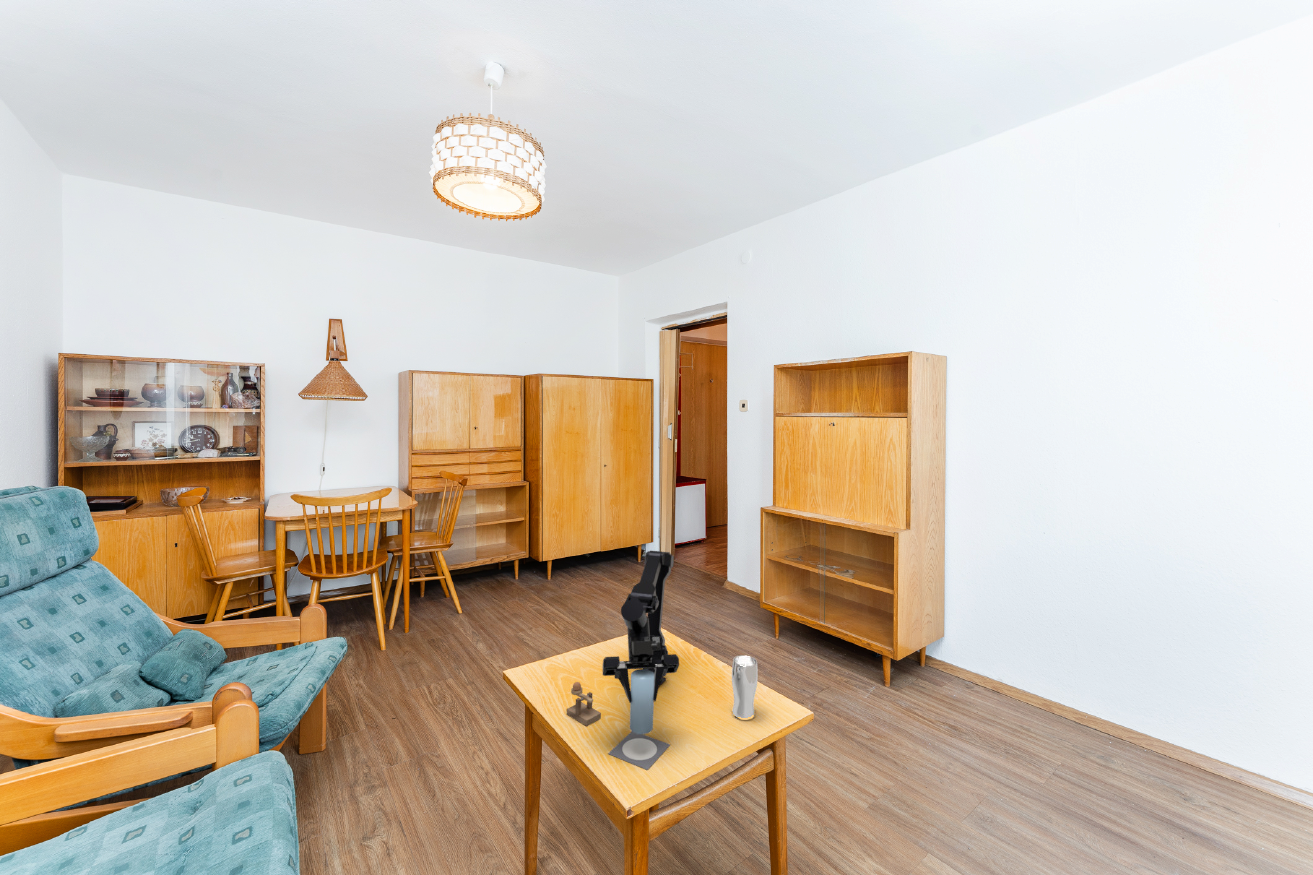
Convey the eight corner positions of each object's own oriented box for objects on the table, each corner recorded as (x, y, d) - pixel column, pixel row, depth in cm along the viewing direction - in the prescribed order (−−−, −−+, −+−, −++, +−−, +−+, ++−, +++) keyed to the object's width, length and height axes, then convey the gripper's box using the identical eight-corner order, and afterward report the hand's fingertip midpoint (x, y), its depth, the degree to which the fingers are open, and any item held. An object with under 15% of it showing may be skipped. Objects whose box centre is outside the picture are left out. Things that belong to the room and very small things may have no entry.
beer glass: (728, 707, 149) (729, 654, 148) (752, 707, 149) (754, 654, 149) (733, 722, 142) (735, 666, 141) (759, 721, 142) (761, 666, 142)
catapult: (565, 713, 144) (566, 683, 143) (579, 706, 147) (580, 677, 147) (586, 726, 138) (587, 695, 138) (600, 718, 142) (601, 688, 141)
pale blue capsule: (637, 718, 133) (638, 666, 132) (657, 725, 130) (658, 672, 129) (625, 729, 128) (626, 676, 127) (645, 736, 125) (646, 682, 125)
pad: (632, 730, 137) (632, 730, 137) (670, 744, 131) (670, 744, 131) (607, 753, 127) (607, 753, 127) (647, 770, 122) (647, 769, 122)
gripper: (604, 625, 130) (605, 692, 120) (679, 622, 133) (686, 688, 123) (602, 642, 139) (602, 707, 128) (672, 640, 141) (679, 703, 131)
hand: (642, 701), depth 127 cm, fingers closed on pale blue capsule, 6 cm apart
